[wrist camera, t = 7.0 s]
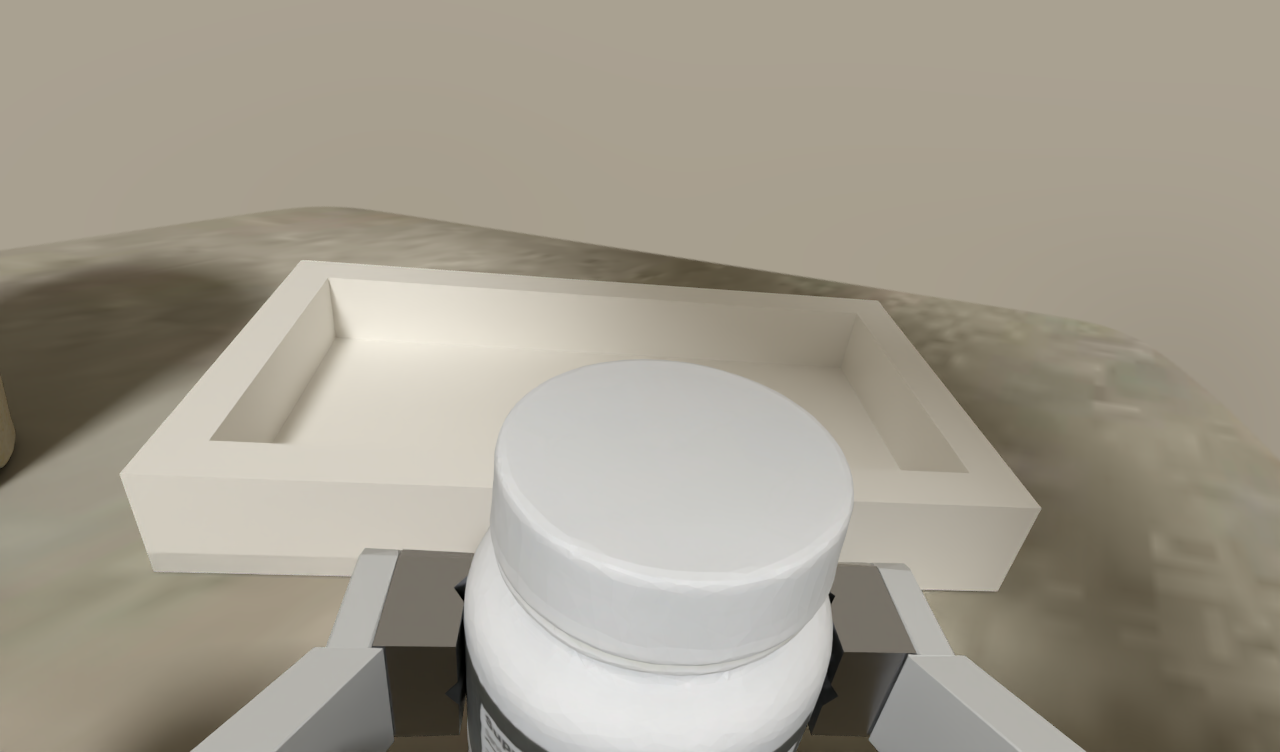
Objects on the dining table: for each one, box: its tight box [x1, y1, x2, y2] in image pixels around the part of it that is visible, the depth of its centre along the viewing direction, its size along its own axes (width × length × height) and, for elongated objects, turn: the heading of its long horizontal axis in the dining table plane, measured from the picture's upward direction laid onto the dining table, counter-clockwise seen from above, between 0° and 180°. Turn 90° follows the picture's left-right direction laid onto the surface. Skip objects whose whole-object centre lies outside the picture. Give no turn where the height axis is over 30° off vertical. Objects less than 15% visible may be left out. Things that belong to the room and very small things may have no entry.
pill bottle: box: [464, 359, 854, 752], centre depth 10 cm, size 5×5×8 cm
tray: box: [120, 260, 1042, 591], centre depth 21 cm, size 20×11×3 cm, turn 94°
